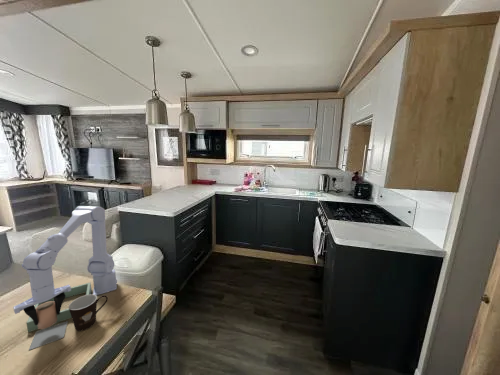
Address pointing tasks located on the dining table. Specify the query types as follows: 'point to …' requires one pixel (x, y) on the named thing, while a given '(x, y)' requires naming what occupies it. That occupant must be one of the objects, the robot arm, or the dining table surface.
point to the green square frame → (65, 313)
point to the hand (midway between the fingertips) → (47, 318)
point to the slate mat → (48, 335)
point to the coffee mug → (84, 311)
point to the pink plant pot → (46, 315)
